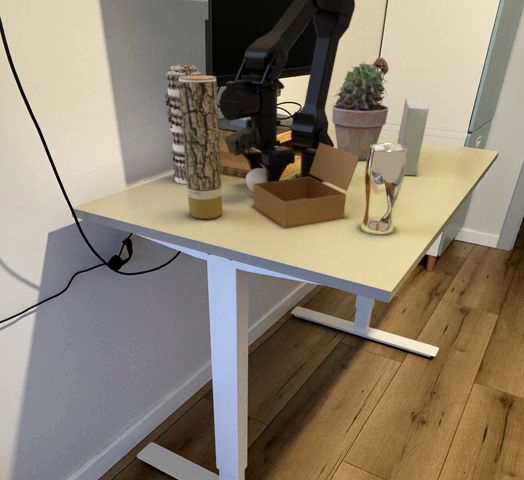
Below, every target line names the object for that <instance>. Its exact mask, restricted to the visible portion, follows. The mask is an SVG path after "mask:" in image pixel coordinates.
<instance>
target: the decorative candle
mask: <svg viewBox="0 0 524 480" xmlns="http://www.w3.org/2000/svg"><path fill="white" fill-rule="evenodd" d="M201 74H203V73H202V72H200V71H199V69H198V67H197V66H196V65H194V64H172V65H171V66H169V68H168V71H167V72H166V73H165V75H166V78H167V93H164V97H165V99H166V100H165V105H166V106H167V107H168V110H166V112H167V115H168V118H167V122H168V123H170V124H171V125H170V126H169V130H170V132H172V149H173V150H171V154H172V155H173V157H172V161H173V162H174V164H173V167H172V168H173V170H174V172H173V176H174V182H176V183H178V184H183V185H187V179H186V167H185V155H184V143H183V131H182V118H181V106H180V94H179V82H178V80H179V78H178V77H181V76H201Z"/></svg>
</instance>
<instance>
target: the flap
mask: <svg viewBox="0 0 524 480" xmlns="http://www.w3.org/2000/svg"><path fill="white" fill-rule="evenodd" d="M359 158H360V157H359V156H356V155H353V154H350V153H348V152H345V151H342V150H339V149H338V147H335V146H334V147H331V146H328V145H326V144H323V143H319V146H318V149H317V152H316V155H315V158H314V161H313V164H312V167H311V169H310V172H309V174H311V175H313V176H315V177H318V178H320V179H322V180H321V181H324V182H326V183H327V184H330V185H333V186H335V187H337V188H339V189H341V190H343V191H345V192H348V189H349V187H350V184H351V182H352V179H353V176H354V173H355V171H356V168H357V165H358V163H359V161H360V160H359Z"/></svg>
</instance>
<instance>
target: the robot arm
mask: <svg viewBox="0 0 524 480" xmlns="http://www.w3.org/2000/svg"><path fill="white" fill-rule="evenodd" d="M355 8H356V1H355V0H293V1H292V3H291V4H290V5H289V7H288V8H287V9H286V11H285V12H284V13H283V15H282V16H281V17H280V19H278V21H277V22H276V24H275V25H274V26H273V28H272V29H271V30H270V31H269V32H268V33H267V34H265V35H263V36H261V37H259V38H257V39H256V40H255V41H253V43H251V44H250V45H249V46H248V47H247V49H246V50H245V52H244V55H243V60H242V62H241V65H240V67H239V69H238V72H237V74H236V77H235V79H234V81H226V82H225V89H224V90H223V91H222V92H221V94H220V97H219V100H218V105H219V106H218V107H219V110H220V113H221V115H222V116H223V118H224V119H225V120H227V121H235V120H241V119H242V120H243V119H246V120H245V127H243V128H241V129H238V130H236V131H234V132H232V133H231V134H229V135H226V136H225V137H224V141H225V144H226V147H227V150H228V152H229V154H233V156H236V157H238V156H240V155H241V156H242V157H243V158H244V159H245V160H246V161H247V163H248V166H249V169H250V171H251V170H253V169H257V168H262V169H265V170H266V179H267V182H272V181H279V180H281V177H282V176H283V174H284V172H285V171H286V169H287V167H288V166H290V165H291V164H292V165H293V164H295V163H296V153H300V168H299V169H300V172H299V173H295V174H294V177H295V178H302V177H311V178H313V179H315V180H317V181H319V182H321V181H323V180H322V179H320V178H318V177H315V176H313V175H311V174H309V172H310V169H311V167H312V164H313V161H314V158H315V155H316V152H317V149H318V146H319V143H323V144H326V145H328V146H331V147H334V148H335V143H334V142H333V140H332V139H331V136H330V135H329V133H328V131H329V120H328V116H327V112H326V106H327V101H328V96H329V91H330V87H331V82H332V76H333V71H334V67H335V62H336V57H337V52H338V47H339V43H340V40H341V38H342V37H343V36H344V35H345V33H346V32H347V31H348V29H349V28H350V25H351V21H352V18H353V16H354V12H355ZM312 19H313V25H314V27H315V32H316V36H317V37H316V42H315V48H314V52H313V58H312V62H311V68H310V73H309V77H308V78H309V79H308V83H307V89H306V93H305V99H304V104H303V106H302V108H301V109H300V110H299V111H295V112H293V115H292V123H291V126H290V129H289V130H290V131H291V132H290V139H291V143H292V147H293V149H292V148H290V147H287V146H285V145H282V146H281V140H279V139H278V127H279V126H281V125H282V124H281V123H282V121H281V120H280V119H278V91H279V90H284V89H285V85H284V83H282V81H280V79H279V77H280V75H281V74H282V72H283V71H284V68H285V67H286V65H287V63H288V61H289V52H290V49H291V47H292V46H293V45H294V44H295V42H296V41H297V39H298V38H299V37H300V36H301V34H302V33H303V31H304V30H305V29H306V27H307V26H308V25H309V23H310V22H311V21H312Z"/></svg>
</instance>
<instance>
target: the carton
mask: <svg viewBox="0 0 524 480" xmlns="http://www.w3.org/2000/svg"><path fill="white" fill-rule="evenodd" d="M252 194H253V196H252V198H253V199H252V200H253V207H254V208H255V209H257V210H258V211H260V212H261V213H262V214H264V215H266V216H267V217H268V218H270V219H272V220H273V221H274V222H276V223H277V224H278V225H280V226H282V227H283V228H284V229H286V228H292V227H298V226H305V225H309V224H315V223H321V222H327V221H328V222H329V221H333V220H334V221H335V220H339V219H343V218H345V211H346V210H345V209H346V199H347V198H346V197H347V194H346V193H345V192H342V191H340V190H338V189H337V188H333V187H332V186H329V184H328V185H327V184H325V183H323V182H321V181H317V180H315V179H313V178H311V177H302V178H297V177H295V178H288V179H280V180H279V181H272V182H264V183H256V184H253V192H252Z"/></svg>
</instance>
